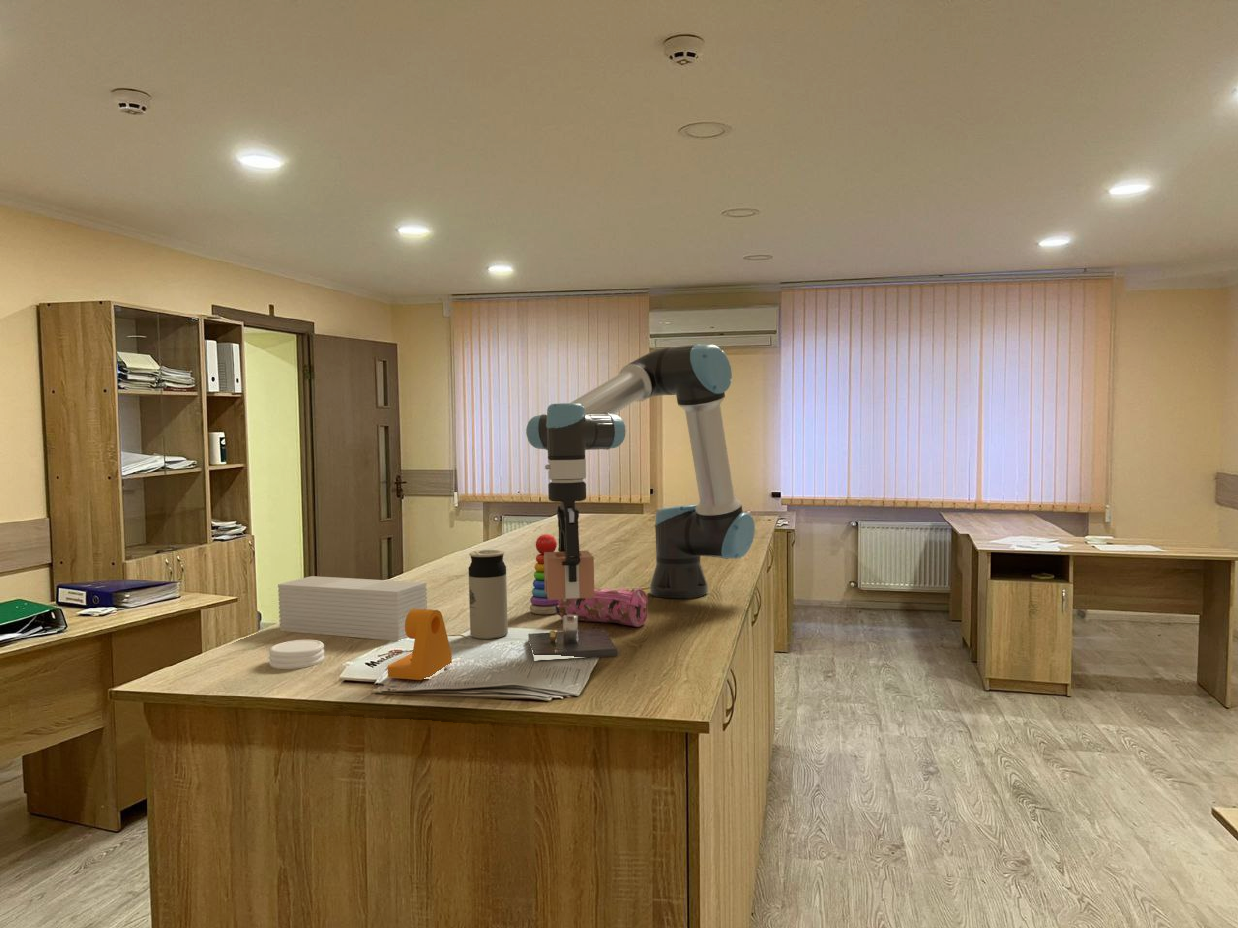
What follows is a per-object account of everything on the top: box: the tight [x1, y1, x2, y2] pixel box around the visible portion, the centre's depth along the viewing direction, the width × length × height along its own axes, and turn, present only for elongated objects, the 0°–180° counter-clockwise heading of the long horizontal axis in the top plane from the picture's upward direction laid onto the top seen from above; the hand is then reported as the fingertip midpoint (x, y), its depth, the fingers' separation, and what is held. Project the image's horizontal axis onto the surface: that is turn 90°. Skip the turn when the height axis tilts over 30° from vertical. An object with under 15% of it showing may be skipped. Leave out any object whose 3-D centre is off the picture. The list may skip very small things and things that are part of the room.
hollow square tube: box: [544, 550, 595, 600], centre depth 169 cm, size 9×9×8 cm
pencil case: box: [555, 587, 649, 628], centre depth 191 cm, size 21×9×9 cm, turn 60°
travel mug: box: [468, 549, 509, 640], centre depth 182 cm, size 8×8×18 cm
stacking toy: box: [529, 533, 559, 615], centre depth 204 cm, size 8×8×19 cm
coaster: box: [268, 639, 326, 670], centre depth 164 cm, size 10×10×4 cm
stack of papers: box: [277, 575, 428, 642], centre depth 189 cm, size 32×11×11 cm, turn 69°
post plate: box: [528, 615, 618, 658], centre depth 170 cm, size 16×16×6 cm
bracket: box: [387, 608, 453, 681], centre depth 154 cm, size 11×7×12 cm, turn 162°
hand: (569, 593), depth 169 cm, fingers closed on hollow square tube, 9 cm apart
